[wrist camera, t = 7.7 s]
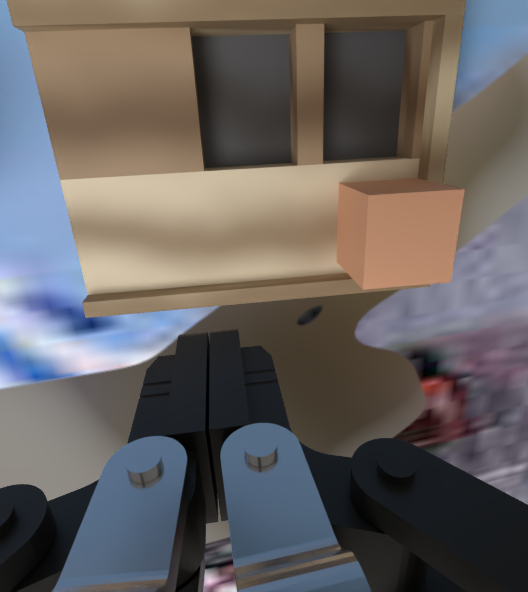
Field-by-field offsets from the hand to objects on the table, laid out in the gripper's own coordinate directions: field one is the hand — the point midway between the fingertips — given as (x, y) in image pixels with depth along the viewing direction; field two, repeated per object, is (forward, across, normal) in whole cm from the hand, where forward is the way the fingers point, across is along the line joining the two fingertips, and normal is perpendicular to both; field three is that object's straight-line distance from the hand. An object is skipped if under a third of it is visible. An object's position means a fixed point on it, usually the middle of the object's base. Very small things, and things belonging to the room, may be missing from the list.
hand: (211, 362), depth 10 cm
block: (+15, -10, 0) cm, 18 cm away
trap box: (+18, -3, -3) cm, 18 cm away
